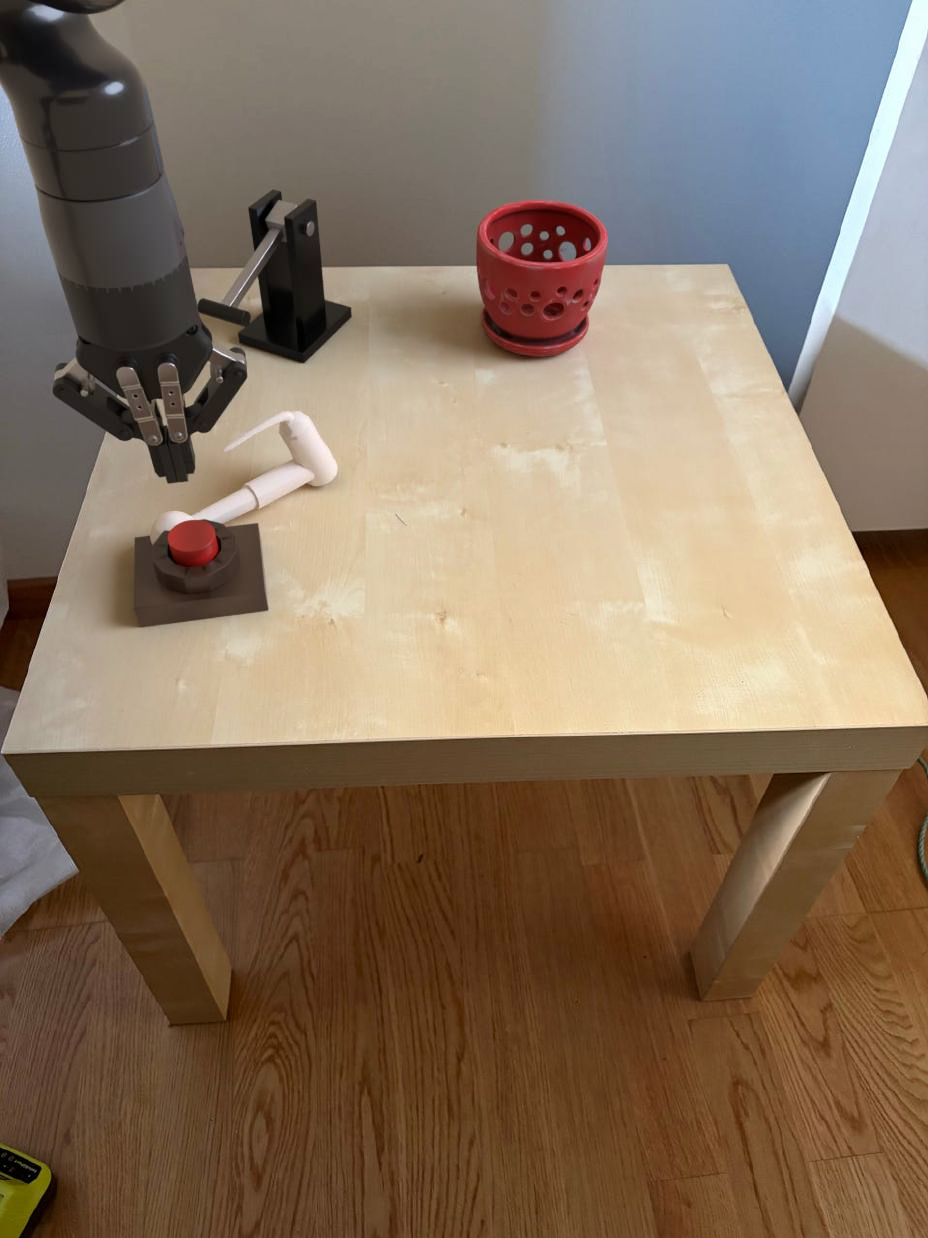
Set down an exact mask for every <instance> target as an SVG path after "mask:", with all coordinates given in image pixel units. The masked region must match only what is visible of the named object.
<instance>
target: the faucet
mask: <svg viewBox="0 0 928 1238" xmlns="http://www.w3.org/2000/svg"><path fill="white" fill-rule="evenodd" d="M277 424H279V428H278V430H279V431H278V434H279V435H280V437H281V439H282V441H283V442H284V444H285V445H286V447H287V449H288V450H289V453H290V455H291V457H292V459H290V460H288V461H286V462H284V463H282V464H280V465H278V466H276V467H274V468H273V469H271V470H269V471H267V472H265V473H263V474H261V475H259V476H257V477H256V478H254V479H251V480H249V481H247V482H246V483H244V484H242V488H240V489H238V490H237V491H236V490H235V492H233V493H230V494H229V495H227V496H225V497H223V498H222V499H219V500H218V501H215V502H213V503H211V504H210V505H208V506H206V507H205V508H202V509H200V510H199V511H197V512H195V513H193V514H192V515H190V514H188V513H187V512H183V511H182V510H181V511H180V510H169V511H166V512H163V513H162V514H160V515H159V516H157V518H156V519H155V520H154V521H153V522H152V524H151V527H150V529H149V530H150V531H149V536H150V539H151V543H152V545H153V544H154V543H155V541H156V540H157V539H158V537H159V536H160V535H161V534H162V532H164V531H165V530H166V531H170V530H171V529H172V528H173V527H174V526H176V525H177V524H179V523H181V522H184V521H188V520H201V519H206V520H210V521H214V522H218V523H222V524H226V523H227V522H230V521H231V520H234V519H235V518H238V517H240V516H242V515H244V514H246V513H248V512H250V511H253V510H254V511H258V510H259V509H262V508H264V507H265V506H267V505H269V504H271V503H274V502H275V501H276V500H278V499H280V498H282V497H284V496H285V495H288V494H290V493H291V492H293V491H294V490H296V489H298V488H300V487H302V486H304V485H305V484H307V485H310V486H311V487H312V486H313V487H321V486H323V487H324V486H326V485H327V484H329V483H330V482H332V481H333V480H334V478H336V476H337V474H338V469H339V468H338V467H339V466H338V463H337V461H336V459H335V457H334V456H333V454H332V452H331V450H330V448H329V447H328V446H327V444H326V442H324V440H323V439H322V437H321V436H320V434H319V432H318V430H317V428H316V426H315V425H314V423H313V421H312V419H311V418H310V416H309V415H307V414H305V413H303V412H302V411H301V410H290V411H288V410H282V411H280V412H278V413H276V414H273V415H272V416H270V417H268V418H266V419H265V420H263V421H262V422H260V423H258V424H257V425H255V426H253V427H252V428H250V429H249V430H246V432H244V433H243V434H241V435H240V436H238V437H236V438H235V439H233V440H232V441H231V442H229V443H228V444H227V445H225V446H224V447H223V448H222V452H223V453H225V452H228V451H230V450H232V449H234V448H236V447H237V446H239V445H241V444H242V443H244V442H245V441H247V440H249V439H250V438H252V437H253V436H255V435H257V434H259V433H261V432H263V431H265V430H267V429H269V428H271V427H273V426H275V425H277Z"/></svg>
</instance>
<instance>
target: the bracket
mask: <svg viewBox="0 0 928 1238" xmlns="http://www.w3.org/2000/svg"><path fill="white" fill-rule="evenodd" d="M278 200H281V201H283V194H282V191H280V190H277V189H273V188H272V189H271V190H270V191H268V192H267V193H265V194H264V195H263V196H262V197H260V198H259V199H258V200H256V201H255V202H253V203H252V204H251V205H249V206H248V207H247V210H248V217H249V223H250V224H249V225H250V231H251V237H252V245H253V252H255V251H256V249H257V248H258V247H259V245H260V244H261V242H262V241H263V239H264V238H265V236H266V235H267V233H268V232H269V230H268V227H267V224H266V222H265V219H266V217H267V216H268V214H269V213H270V212H271V210H272V209H273V207H274V206H275V204H276V203H277V201H278ZM317 207H318V205H317V200H315V199H312V198H306V199H305V200H304V201H303V202H300V204H299V205H298V206H297V207H296V208H295V209H294V210H292V211H291V212H290V213H288V214H287V215H286V216H285V217H284V222H285V231H286V240H287V242H283V241H281V242H280V243H279V245H278V246H277V248H276V249H275V251H274V252H273V254H272V255H271V257H270V258H269V260H268V261H267V263H266V264H265V266H264V267H263V269H262V271H261V272H260V274H259V275H258V277H257V280H258V281H257V282H258V288H259V294H260V295H259V296H260V300H261V301H260V302H261V303H260V304H261V310H262V311H261V313H259V314H258V315H257V316H256V317H255V318H253V319H252V320H250V323H249V325H248V326H247V327H243V328H242V329H241V330H239V332H237V338H238V343H239V344H241V345H244V346H248V347H251V348H253V349H254V348H255V349H257V350H261V351H264V352H268V353H270V354H273V355H277V356H280V357H283V358H287V359H289V360H292V361H295V362H299V363H302V364H305V363H306V362H307V361H308V360H310V358H311V357H312V356H314V354H315V353H317V351H319V349H321V348H322V347H323V345H325V343H327V342H328V341H329V340H330V339H331V338H332V337H333V336H334V335H335V334H336V333H338V331H339V330H340V329H341V328H342V327H343V326H345V324H346V323H347V322H348V321H350V319H351V318H352V316H353V314H352V313H353V312H352V307H351V306H348V305H344V304H341V303H338V302H334V301H331V300H327V299H325V289H324V288H325V286H324V277H323V276H324V275H323V264H322V253H321V241H320V229H319V217H318V208H317Z"/></svg>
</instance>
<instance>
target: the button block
mask: <svg viewBox="0 0 928 1238" xmlns="http://www.w3.org/2000/svg"><path fill="white" fill-rule="evenodd" d="M201 521H205V522H207V523H209V524H210V525H211V526H212V527H213V528H214V531H215V535H216V539H217V544H218V553H217V555H216V557H215V558H214V559H213V560H212V561H210V562H209V563H207V564H205V565H203V566H195V567H185V566H181V565H179V564H178V563H176V562H175V561H174V559H173V557H172V554H171V550H170V547H169V543H168V534H169V532H170V531H166V530H165V531H164V532H162V534H161V535H160V536H159V537H158V539H157V540H156V541H155V543H154V544H153V545H152V543H151V539H150V535H143V536H135V537H134V553H133V554H134V558H133V563H134V564H133V606H132V607H133V612H134V614H135V618H136V620H137V622H138V627H139V628H145V627H152V626H159V625H167V624H174V623H182V622H189V621H197V620H198V621H199V620H204V619H212V618H213V619H214V618H220V617H228V616H235V615H242V614H243V615H244V614H251V613H257V612H258V613H259V612H265V611H269V600H268V592H267V591H268V590H267V581H266V573H265V571H266V570H265V562H264V551H263V543H262V537H261V531H260V525H259V523H258V522H254V523H245V524H237V525H229V526H226V525H225V523H223V524H222V523H218V522H214V521H210V520H206V519H201Z"/></svg>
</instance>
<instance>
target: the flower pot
mask: <svg viewBox="0 0 928 1238" xmlns="http://www.w3.org/2000/svg"><path fill="white" fill-rule="evenodd" d="M526 225H530V226H531V228H532V230H531V232H530V233H529V234H527V235H524V234H523V233H522V228H524V226H526ZM559 227H560V228H563V230H564V233H563V234H559V232H558V229H557V228H559ZM507 232H509V233H511V234H512V236H513V241H512V243H511V245H510V246H509V248H507V249H506V250H501V249H500V246H499V242H500V239H501V237H502V235H503V234H505V233H507ZM542 233H547V235H548V237H547V238H546V239H545V238H541V234H542ZM587 239H588V241H589V243H590V248H588V246H587ZM608 242H609V235H608V231H607V229H606V227H605V225H604V223H603V222H602V221H601V220H600V219H599V218H598V217H597V216H595V215H594V214H592V213H591V212H590V211H588V210H586V209H585V208H582V207H580V206H577V205H574V204H571V203H567V202H564V201H563V202H562V201H557V200H551V199H550V200H549V199H548V200H547V199H526V200H525V199H524V200H519V201H513V202H509V203H506V204H503V205H500V206H497V207H496V208H494V209H492V210H491V211H490V212H488V213H487V214H486V215H485V216H484V217H483V218H482V219H481V221H480V222H479V225H478V226H477V230H476V245H475V247H476V249H475V251H476V252H475V260H476V261H475V263H476V275H477V282H478V290H479V294H480V296H481V300H482V303H483V305H484V306H483V307H482V310H481V312H480V313H481V315H480V321H481V325H482V328H483V331H484V332H485V334H486V335H487V336H488V337H489V338H490V339H491V341H492V342H494V343H495V344H496V345H498V346H499V347H501V348H503V349H504V350H506V351H509V352H512V353H514V354H518V355H523V356H528V357H549V356H555V355H559V354H562V353H565V352H567V351H569V350H571V349H572V348H574V347H575V346H577V345H578V344H579V343H581V342H582V340H584V338H585V337H586V335H587V333H588V331H589V327H590V317H589V314H588V313H589V312H590V310H591V308H592V306H593V304H594V302H595V300H596V298H597V295H598V292H599V289H600V286H601V284H602V275H603V271H604V267H605V263H606V259H607V252H608V244H609V243H608ZM564 243H570V244H572V245H573V248H574V249H575V256H574V259H570V260H566V259H565V258H564V257H563V256H562V253H561V246H562V244H564ZM525 244H531V245H532V251H531V252H530V253H528V254H524V253H523V251H522V248H523V246H524V245H525ZM546 251H549V252H551V254H552V255H551V257H549V258H548V257H546V256H545V255H544V254H545V252H546Z"/></svg>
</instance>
